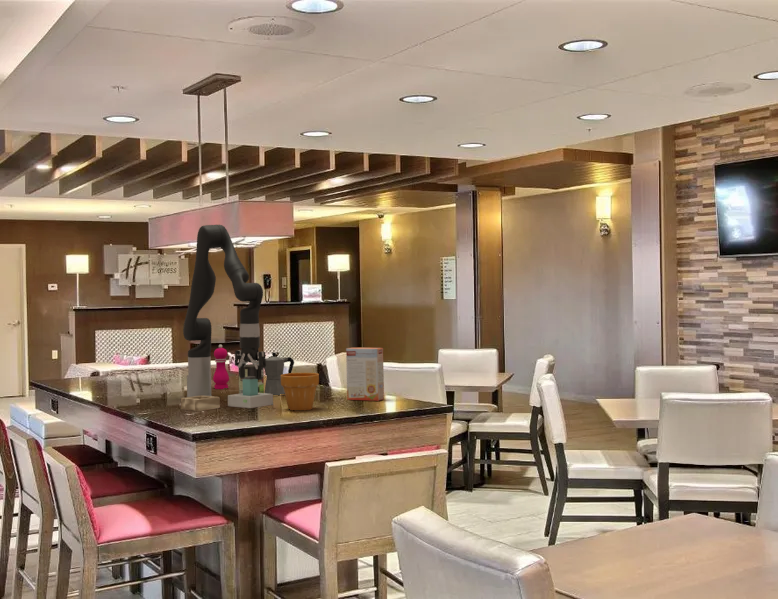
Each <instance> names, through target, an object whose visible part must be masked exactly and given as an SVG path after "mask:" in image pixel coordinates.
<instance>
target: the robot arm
mask: <svg viewBox="0 0 778 599" xmlns="http://www.w3.org/2000/svg"><path fill="white" fill-rule="evenodd" d="M196 237H197V238H196V247H195V248H196V249H195V251H196V252H195V262H194V269H193V274H192V281H191V285H190V286H191V287H190V293H189V301H188V306H187V310H186V314H185V317H184V318H185V319H184V323H183V330H182V332H183V333H182V334H183V337H184V340H186V341H191V342H193V341H199V344H197V346H195V347H192V348H191V349H189V350H188V351H187V367H188V368H187V370H188V371H187V372H188V374H187V375H186V397H193V396H201V395H203V396H212V362H211V361H212V358H211V357H212V355H211V351H212V332H213V331H212V322H211V320H210V319H209V318H207V317H198V315H199V313H200V311H201V310H202V308H203V307H204V306H205V305H206V304H207V303H208V302H209V301H210V299H211V298H212V297H213V295H214V292H215V287H216V281H217V278H216V274H215V272H214V269H213V267H212V265H211V263H210V261H209V252H210V249H220V248H221V250H222V251H223V253H224V261H223V268H224V271H225V274H226V275H227V276H228V279H229V280H230V281H231V284H232V289H233V292H234V296H235V298H236V299H237V300H239V301H240V302H242V303H243V302H247V303H248V306H247V307H243V308H241V309H240V311H239V312H240V313H239V322H240V324H239V348H240V349H239V350H238V349H236V350H235V351H234V366H235V367H237V368H238V367H239V368H238V377H239V376H240V378H244V377H245V368H244V367H245V365H247V364H248V363H250V364H253V365H254V366H255V368H256V369H255V373H256V379H261V376H262V375H261V373H262V368H263V369H264V367H266V359H267V358H266V352H265V351H260V350H259V349H260V347H261V336H260V335H261V329H260V316H259V315H260V310H261V305H262V301H263V298H264V290H263V289H264V288H263V287H262V285H261V284H260V283H258V282H248V281H249V279H250V275H249V272H248V271H247V269H246V268H245V266H244V264H243V263H242V262H241V260H240V258H239V256H238V254H237V250H236V249H235V246H234V244H233V241H232V238H231V235H230V234H229V231H228V229H227V228H226V226H224V225H223V224H205V225H201V226H200V227H199V229H198V232H197V236H196ZM262 361H263V364H262ZM257 364H258V365H257Z"/></svg>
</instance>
